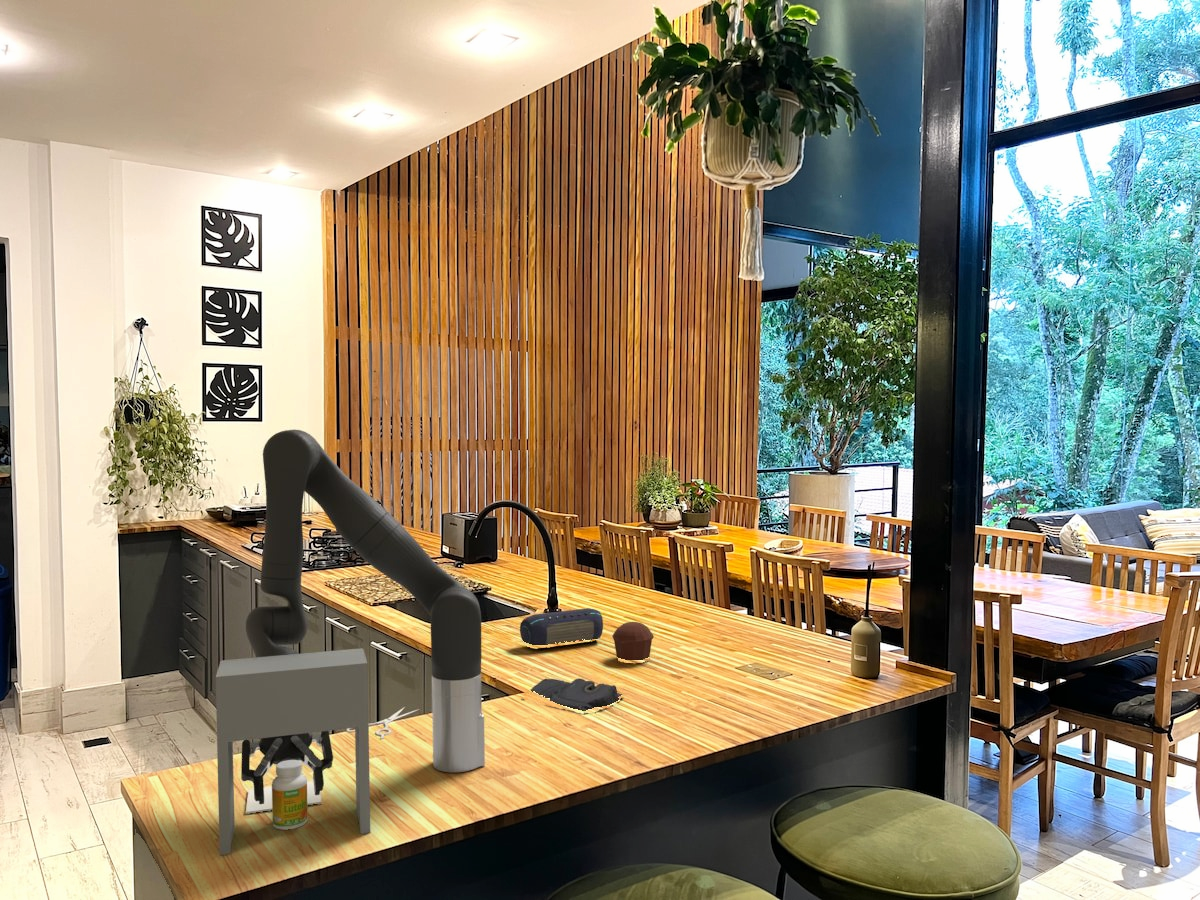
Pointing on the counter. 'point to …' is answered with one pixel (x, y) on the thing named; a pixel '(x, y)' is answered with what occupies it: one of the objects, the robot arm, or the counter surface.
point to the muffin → (633, 641)
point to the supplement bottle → (289, 796)
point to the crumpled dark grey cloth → (577, 693)
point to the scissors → (385, 721)
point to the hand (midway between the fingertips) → (290, 797)
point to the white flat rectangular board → (267, 806)
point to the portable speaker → (562, 627)
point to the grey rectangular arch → (290, 713)
